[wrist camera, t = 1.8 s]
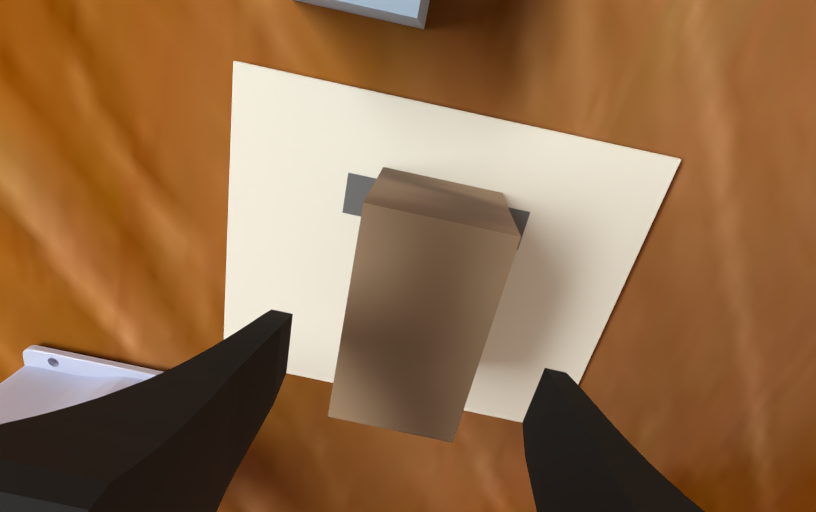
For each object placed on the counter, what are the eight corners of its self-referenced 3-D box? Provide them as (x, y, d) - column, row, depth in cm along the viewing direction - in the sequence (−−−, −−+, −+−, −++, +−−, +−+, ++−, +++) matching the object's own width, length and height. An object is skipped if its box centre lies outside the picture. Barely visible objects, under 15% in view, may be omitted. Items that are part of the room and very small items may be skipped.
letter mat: (225, 355, 21) (222, 360, 21) (237, 60, 16) (232, 60, 15) (555, 425, 21) (557, 430, 21) (677, 157, 16) (681, 159, 16)
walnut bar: (351, 342, 20) (327, 416, 16) (383, 166, 16) (363, 202, 12) (450, 363, 20) (452, 442, 16) (501, 192, 17) (521, 236, 12)
